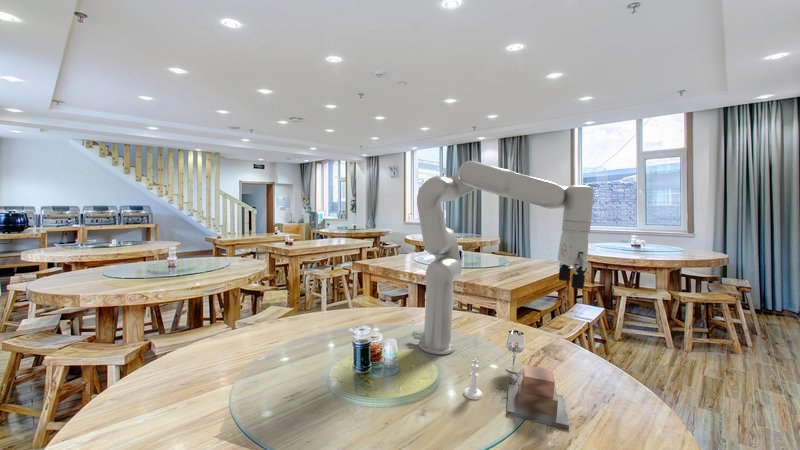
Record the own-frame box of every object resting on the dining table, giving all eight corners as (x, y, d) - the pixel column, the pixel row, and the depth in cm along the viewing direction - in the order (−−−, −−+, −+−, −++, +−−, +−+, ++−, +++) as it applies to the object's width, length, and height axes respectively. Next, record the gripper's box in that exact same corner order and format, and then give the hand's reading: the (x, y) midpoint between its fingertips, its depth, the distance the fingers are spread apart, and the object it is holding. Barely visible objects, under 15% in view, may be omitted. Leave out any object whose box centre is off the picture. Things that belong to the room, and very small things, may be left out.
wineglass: (523, 368, 114) (526, 331, 113) (521, 376, 108) (524, 337, 107) (505, 364, 116) (507, 328, 115) (502, 371, 111) (505, 333, 110)
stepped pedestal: (506, 414, 88) (509, 379, 87) (508, 387, 101) (511, 356, 100) (568, 429, 83) (572, 392, 83) (562, 398, 97) (565, 366, 96)
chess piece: (482, 400, 93) (485, 364, 93) (463, 397, 94) (466, 361, 94) (481, 391, 98) (484, 356, 98) (463, 388, 99) (466, 353, 99)
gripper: (552, 224, 115) (547, 276, 116) (575, 228, 98) (569, 290, 99) (576, 226, 114) (571, 278, 116) (603, 230, 97) (597, 292, 98)
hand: (570, 284), depth 107 cm, fingers open, 9 cm apart
